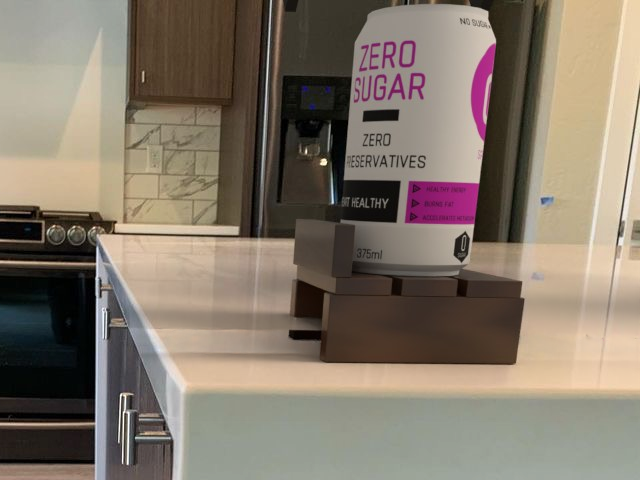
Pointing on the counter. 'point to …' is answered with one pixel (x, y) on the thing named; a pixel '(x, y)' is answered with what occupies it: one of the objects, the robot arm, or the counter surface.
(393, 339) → the rack
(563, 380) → the counter surface
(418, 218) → the supplement can
